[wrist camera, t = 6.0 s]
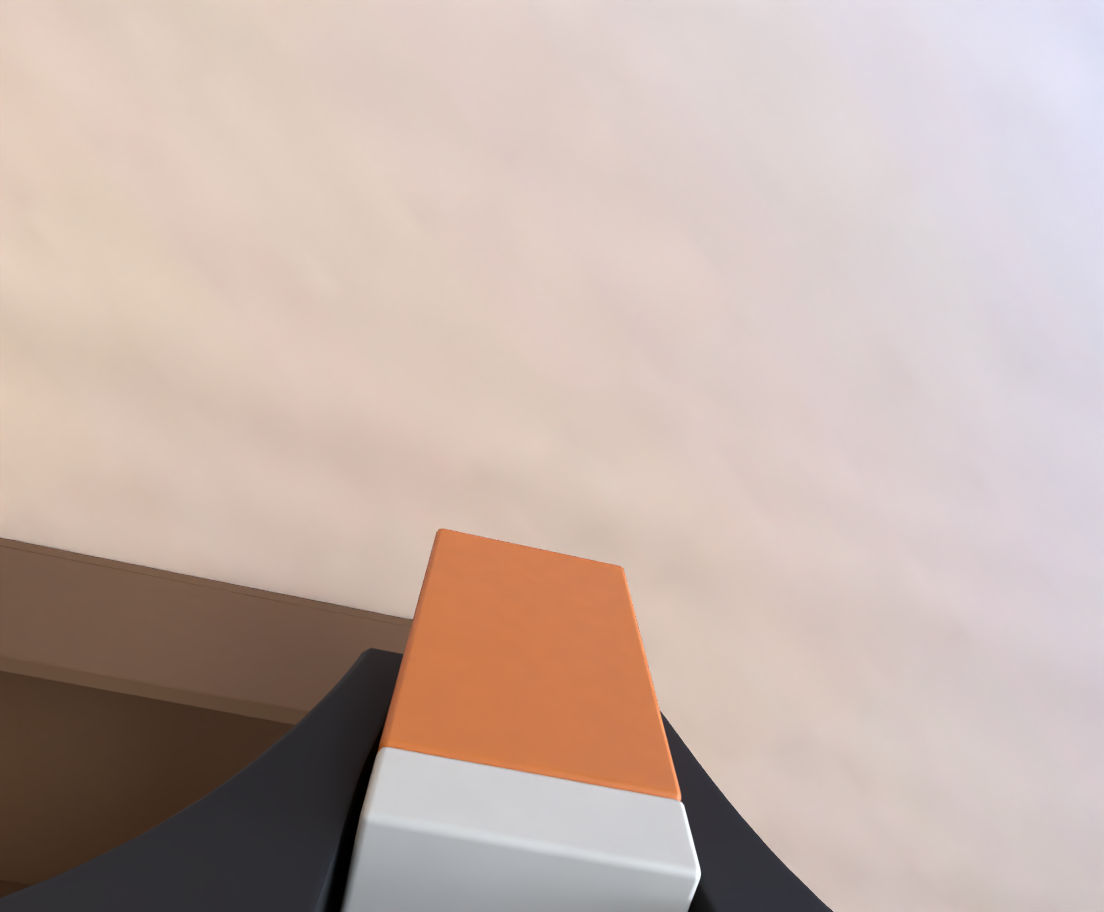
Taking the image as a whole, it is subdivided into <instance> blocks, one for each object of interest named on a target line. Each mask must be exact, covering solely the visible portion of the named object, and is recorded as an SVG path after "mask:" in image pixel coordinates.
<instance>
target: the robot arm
mask: <svg viewBox="0 0 1104 912" xmlns="http://www.w3.org/2000/svg"><path fill="white" fill-rule="evenodd" d="M403 655H404V654H401V653H396V652H390V651H385V650H380V649H375V648H369V649H367V650H366V651H364V652H362V653H361V654H360V656H359V657H358V659H357V660H356V662H355V663H354V664H353V665H352V667H351V668H350V669H349V670H348V672H347V673H346V674H345V675H344V676H343V677H342V679H341V680H340V681H339V682H338V683H337V684H336V685H335V686H334V687H333V688H332V690H331V691H330V692H329V693H328V694H327V695H326V696H325V697H324V698H323V699H322V700H321V701H320V702H319V703H318V704H317V705H316V706H315V707H314V708H313V709H312V710H311V711H310V712H309V713H308V714H307V715H306V716H305V717H304V718H303V719H301V720H300V721H299V722H298V723H297V724H296V725H295V726H294V727H293V728H292V729H290V730H289V731H288V732H287V733H286V734H285V735H283V736H282V737H281V738H280V739H279V740H278V741H276V742H275V743H274V744H273V745H272V746H271V747H269V748H268V749H267V750H266V751H265V752H264V753H262V754H261V755H260V756H259V757H257V758H256V759H255V760H254V761H252V762H251V763H250V764H248V765H247V766H246V767H245V768H243V769H242V770H241V771H239V772H238V773H237V774H235V775H234V776H233V777H231V778H230V779H228V780H227V781H225V782H224V783H223V784H221V785H220V786H218V787H217V788H215V789H214V790H213V791H211V792H210V793H208V794H207V795H205V796H204V797H202V798H201V799H199V800H197V801H196V802H194V803H193V804H191V805H189V806H188V807H186V808H185V809H183V810H181V811H180V812H178V813H177V814H175V815H173V816H172V817H170V818H169V819H167V820H165V821H164V822H162V823H160V824H159V825H157V826H155V827H153V828H152V829H150V830H148V831H146V832H145V833H143V834H141V835H139V836H137V837H136V838H134V839H132V840H130V841H128V842H126V843H124V844H122V845H120V846H118V847H116V848H114V849H112V850H110V851H108V852H106V853H104V854H102V855H100V856H98V857H96V858H94V859H92V860H90V861H88V862H86V863H84V864H81V865H79V866H77V867H75V868H73V869H70V870H68V871H66V872H64V873H61V874H59V875H57V876H55V877H52V878H50V879H47V880H45V881H42V882H40V883H37V884H35V885H32V886H30V887H27V888H24V889H22V890H19V891H17V892H14V893H12V894H9V895H7V896H4V897H2V898H0V912H340V908H341V904H342V899H343V894H344V889H345V885H346V880H347V875H348V871H349V866H350V861H351V856H352V852H353V847H354V842H355V837H356V833H357V828H358V823H359V818H360V814H361V810H362V807H363V803H364V799H365V795H366V792H367V788H368V784H369V781H370V777H371V773H372V770H373V766H374V762H375V758H376V755H377V753H378V749H379V744H380V740H381V736H382V733H383V729H384V725H385V721H386V718H387V714H388V710H389V707H390V703H391V699H392V695H393V692H394V688H395V684H396V681H397V677H398V673H399V670H400V666H401V662H402V658H403ZM660 714H661V718H662V721H663V725H664V729H665V733H666V737H667V741H668V745H669V749H670V753H671V757H672V761H673V765H674V768H675V772H676V776H677V780H678V784H679V788H680V792H681V801H680V802H682V803H683V805H684V807H685V811H686V815H687V819H688V823H689V827H690V831H691V835H692V838H693V842H694V846H695V850H696V854H697V858H698V862H699V866H700V871H701V876H700V880H699V883H698V885H697V888H696V891H695V893H694V896H693V898H692V901H691V904H690V906H689V909H688V912H833V911H832V910H831V909H830V908H828V907H827V906H826V905H825V904H824V903H823V902H822V901H821V900H820V899H819V898H818V897H817V896H816V895H815V894H814V893H813V892H812V891H811V890H810V889H809V888H808V887H807V886H806V885H805V884H804V883H803V882H802V881H801V880H800V879H799V878H798V877H797V876H795V875H794V874H793V873H792V872H791V871H790V870H789V869H788V868H787V867H786V866H785V864H784V863H783V862H782V861H781V860H780V859H779V858H778V857H777V856H776V855H775V854H774V853H773V852H772V851H771V850H770V849H769V847H768V846H767V845H766V844H765V843H764V842H763V841H762V839H761V838H760V837H759V836H758V835H757V834H756V833H755V832H754V830H753V829H752V828H751V827H750V826H749V825H748V824H747V822H746V821H745V820H744V819H743V818H742V817H741V815H740V814H739V813H738V812H737V811H736V809H735V808H734V807H733V806H732V805H731V803H730V802H729V801H728V800H727V798H726V797H725V796H724V795H723V793H722V792H721V791H720V790H719V788H718V787H717V786H716V785H715V783H714V782H713V781H712V779H711V778H710V777H709V776H708V774H707V773H706V772H705V770H704V769H703V768H702V766H701V765H700V764H699V762H698V761H697V760H696V758H695V757H694V756H693V754H692V753H691V752H690V750H689V749H688V748H687V746H686V745H685V744H684V742H683V741H682V739H681V738H680V737H679V735H678V734H677V733H676V731H675V730H674V729H673V727H672V726H671V724H670V723H669V722H668V720H667V719H666V718H665V716H664V715H663V714H662V712H661V711H660Z"/></svg>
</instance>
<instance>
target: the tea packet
mask: <svg viewBox="0 0 1104 912" xmlns="http://www.w3.org/2000/svg"><path fill="white" fill-rule="evenodd" d="M680 801H681V792H680V788H679V784H678V780H677V776H676V772H675V768H674V765H673V761H672V757H671V753H670V749H669V745H668V741H667V737H666V733H665V729H664V725H663V721H662V718H661V714H660V710H659V706H658V702H657V698H656V694H655V690H654V686H653V682H652V678H651V674H650V671H649V667H648V663H647V659H646V655H645V651H644V647H643V643H642V639H641V635H640V631H639V627H638V624H637V620H636V616H635V612H634V608H633V604H632V600H631V596H630V592H629V588H628V584H627V580H626V577H625V573H624V569H623V568H622V567H620V566H617V565H612V564H608V563H603V562H598V561H594V560H589V559H584V558H579V557H575V556H570V555H565V554H560V553H556V552H551V551H546V550H542V549H537V548H532V547H527V546H523V545H518V544H513V543H509V542H504V541H499V540H494V539H490V538H485V537H480V536H476V535H471V534H466V533H461V532H457V531H452V530H447V529H439V530H438V531H437V533H436V536H435V540H434V544H433V547H432V551H431V555H430V558H429V562H428V566H427V569H426V573H425V577H424V581H423V584H422V588H421V592H420V595H419V599H418V603H417V607H416V610H415V614H414V618H413V621H412V625H411V629H410V632H409V636H408V640H407V644H406V647H405V651H404V655H403V658H402V662H401V666H400V670H399V673H398V677H397V681H396V684H395V688H394V692H393V695H392V699H391V703H390V707H389V710H388V714H387V718H386V721H385V725H384V729H383V733H382V736H381V740H380V744H379V749H378V753H377V755H376V758H375V762H374V766H373V770H372V773H371V777H370V781H369V784H368V788H367V792H366V795H365V799H364V803H363V807H362V810H361V814H360V818H359V823H358V828H357V833H356V837H355V842H354V847H353V852H352V856H351V861H350V866H349V871H348V875H347V880H346V885H345V889H344V894H343V899H342V904H341V908H340V912H688V909H689V906H690V904H691V901H692V898H693V896H694V893H695V891H696V888H697V885H698V883H699V880H700V876H701V871H700V866H699V862H698V858H697V854H696V850H695V846H694V842H693V838H692V835H691V831H690V827H689V823H688V819H687V815H686V811H685V807H684V805H683V803H682V802H680Z"/></svg>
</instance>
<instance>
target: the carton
mask: <svg viewBox="0 0 1104 912" xmlns="http://www.w3.org/2000/svg"><path fill="white" fill-rule="evenodd" d="M412 621H413V620H409V619H404V618H399V617H394V616H389V615H384V614H379V613H374V612H369V611H364V610H359V609H354V608H349V607H344V606H339V605H334V604H329V603H324V602H319V601H314V600H309V599H304V598H299V597H294V596H289V595H284V594H279V593H274V592H269V591H264V590H259V589H254V588H249V587H244V586H239V585H234V584H229V583H224V582H219V581H214V580H209V579H204V578H199V577H194V576H189V575H184V574H179V573H174V572H169V571H164V570H159V569H154V568H149V567H144V566H139V565H134V564H129V563H124V562H119V561H114V560H109V559H104V558H99V557H94V556H89V555H84V554H79V553H74V552H69V551H64V550H59V549H54V548H49V547H44V546H39V545H34V544H29V543H24V542H19V541H14V540H9V539H4V538H0V898H2V897H4V896H7V895H9V894H12V893H14V892H17V891H19V890H22V889H24V888H27V887H30V886H32V885H35V884H37V883H40V882H42V881H45V880H47V879H50V878H52V877H55V876H57V875H59V874H61V873H64V872H66V871H68V870H70V869H73V868H75V867H77V866H79V865H81V864H84V863H86V862H88V861H90V860H92V859H94V858H96V857H98V856H100V855H102V854H104V853H106V852H108V851H110V850H112V849H114V848H116V847H118V846H120V845H122V844H124V843H126V842H128V841H130V840H132V839H134V838H136V837H137V836H139V835H141V834H143V833H145V832H146V831H148V830H150V829H152V828H153V827H155V826H157V825H159V824H160V823H162V822H164V821H165V820H167V819H169V818H170V817H172V816H173V815H175V814H177V813H178V812H180V811H181V810H183V809H185V808H186V807H188V806H189V805H191V804H193V803H194V802H196V801H197V800H199V799H201V798H202V797H204V796H205V795H207V794H208V793H210V792H211V791H213V790H214V789H215V788H217V787H218V786H220V785H221V784H223V783H224V782H225V781H227V780H228V779H230V778H231V777H233V776H234V775H235V774H237V773H238V772H239V771H241V770H242V769H243V768H245V767H246V766H247V765H248V764H250V763H251V762H252V761H254V760H255V759H256V758H257V757H259V756H260V755H261V754H262V753H264V752H265V751H266V750H267V749H268V748H269V747H271V746H272V745H273V744H274V743H275V742H276V741H278V740H279V739H280V738H281V737H282V736H283V735H285V734H286V733H287V732H288V731H289V730H290V729H292V728H293V727H294V726H295V725H296V724H297V723H298V722H299V721H300V720H301V719H303V718H304V717H305V716H306V715H307V714H308V713H309V712H310V711H311V710H312V709H313V708H314V707H315V706H316V705H317V704H318V703H319V702H320V701H321V700H322V699H323V698H324V697H325V696H326V695H327V694H328V693H329V692H330V691H331V690H332V688H333V687H334V686H335V685H336V684H337V683H338V682H339V681H340V680H341V679H342V677H343V676H344V675H345V674H346V673H347V672H348V670H349V669H350V668H351V667H352V665H353V664H354V663H355V662H356V660H357V659H358V657H359V656H360V654H361V653H362V652H364V651H366V650H367V649H369V648H375V649H380V650H385V651H390V652H396V653H401V654H404V651H405V647H406V644H407V640H408V636H409V632H410V629H411V625H412Z"/></svg>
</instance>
